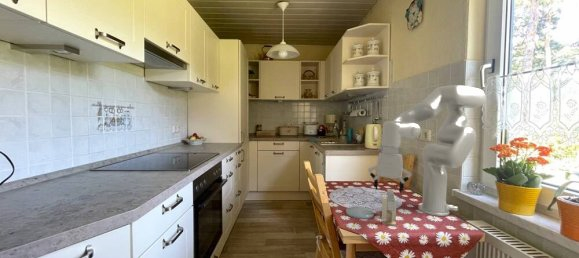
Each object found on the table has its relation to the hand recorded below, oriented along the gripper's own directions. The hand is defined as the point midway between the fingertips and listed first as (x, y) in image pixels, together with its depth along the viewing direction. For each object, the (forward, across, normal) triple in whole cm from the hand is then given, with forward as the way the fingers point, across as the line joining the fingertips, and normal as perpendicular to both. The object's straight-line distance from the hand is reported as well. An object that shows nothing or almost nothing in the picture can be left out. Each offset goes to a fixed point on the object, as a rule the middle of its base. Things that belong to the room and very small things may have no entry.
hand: (388, 190), depth 113 cm
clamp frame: (+12, +1, +1) cm, 12 cm away
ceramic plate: (+12, -11, +1) cm, 17 cm away
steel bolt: (+1, +1, -14) cm, 14 cm away
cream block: (+12, +1, +1) cm, 12 cm away
